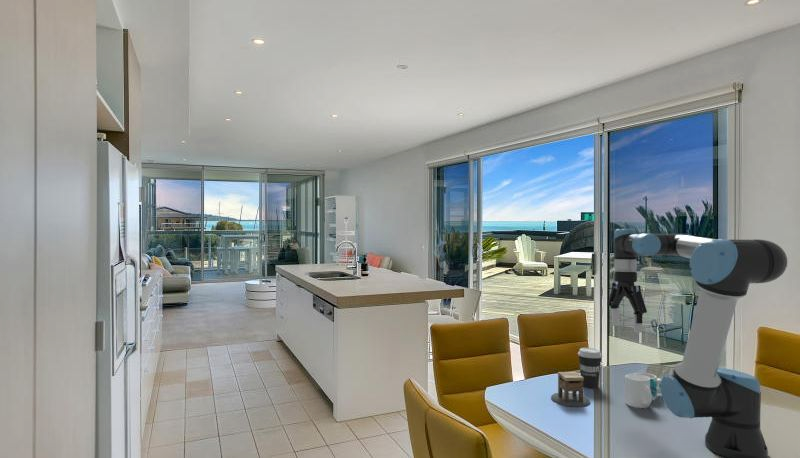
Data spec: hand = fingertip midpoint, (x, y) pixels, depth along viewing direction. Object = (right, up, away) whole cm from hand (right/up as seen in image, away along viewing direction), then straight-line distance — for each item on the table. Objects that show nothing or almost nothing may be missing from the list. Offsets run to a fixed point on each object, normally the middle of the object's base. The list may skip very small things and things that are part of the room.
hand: (626, 329), depth 173 cm
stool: (-18, -28, +7) cm, 34 cm away
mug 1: (+6, -29, +1) cm, 29 cm away
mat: (-18, -29, +7) cm, 35 cm away
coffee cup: (-4, -29, +23) cm, 37 cm away
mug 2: (+15, -29, +12) cm, 35 cm away
